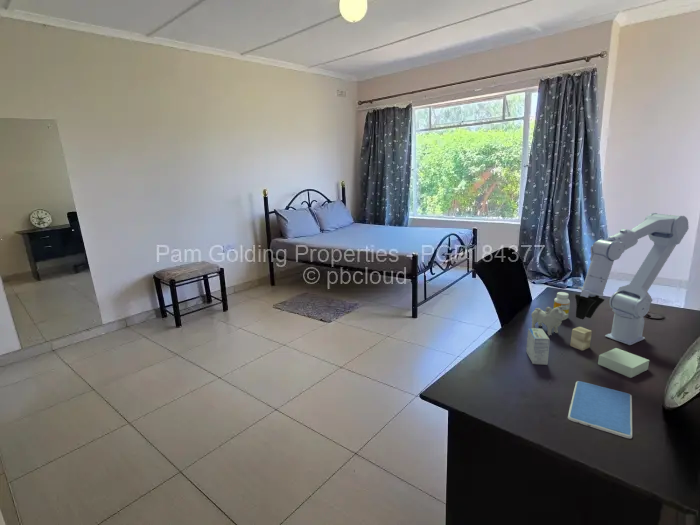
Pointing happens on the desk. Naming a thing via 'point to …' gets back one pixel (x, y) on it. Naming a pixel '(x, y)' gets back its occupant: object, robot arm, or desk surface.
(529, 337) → the medicine box
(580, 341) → the maple block
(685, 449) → the desk surface
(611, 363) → the sage base block
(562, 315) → the white animal figurine
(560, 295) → the supplement bottle
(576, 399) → the tablet computer
